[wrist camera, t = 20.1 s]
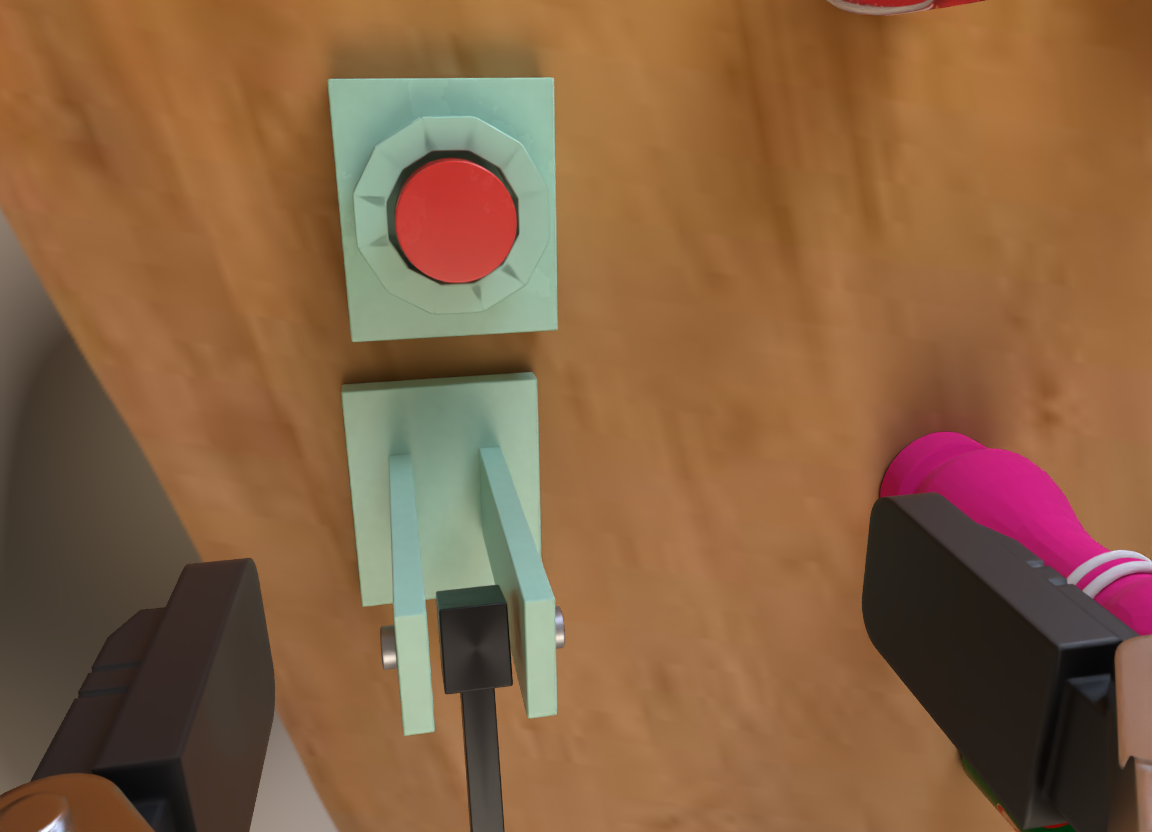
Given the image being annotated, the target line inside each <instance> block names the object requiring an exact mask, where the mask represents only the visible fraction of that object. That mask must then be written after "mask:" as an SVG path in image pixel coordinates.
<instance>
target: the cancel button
mask: <svg viewBox="0 0 1152 832" xmlns="http://www.w3.org/2000/svg"><path fill="white" fill-rule="evenodd" d="M394 220H395V228H396V234H397V238H398V241H399V244H400V246H401V248H402V250H403V252H404V254H405V255H406V257H407V258H408V259H409V261H410V262H411V263H412V264H413V265H414V266H415V267H416V268H417V269H419V270H420V271H421V272H422V273H424V274H426V275H428V276H429V277H432V278H434V279H436V280H439V281H443V282H449V283H466V282H471V281H475V280H477V279H480V278H482V277H484V276H486V275H488V274H490V273H491V272H492V271H494V270H495V269H496V268H497V267H498V266H499V265H500V264H501V263H502V262H503V261H504V260H505V258H506V257H507V255H508V253H509V252H510V250H511V248H512V245H513V243H514V239H515V235H516V229H517V218H516V211H515V206H514V203H513V200H512V198H511V196H510V194H509V192H508V190H507V189H506V187H505V186H504V184H503V183H502V182H501V181H500V180H499V179H498V178H497V177H496V176H495V175H494V174H493V173H491V172H490V171H488V170H487V169H485V168H484V167H482V166H481V165H479V164H477V163H475V162H472V161H469V160H466V159H461V158H442V159H438V160H434V161H431V162H429V163H426V164H425V165H423V166H421V167H420V168H418V169H417V170H415V171H414V172H413V173H412V174H411V175H410V176H409V177H408V179H407V180H406V181H405V182H404V184H403V186H402V187H401V189H400V191H399V194H398V196H397V200H396V204H395V211H394Z"/></svg>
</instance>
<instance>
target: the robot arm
mask: <svg viewBox="0 0 1152 832" xmlns="http://www.w3.org/2000/svg"><path fill="white" fill-rule="evenodd" d="M862 612H863V619H864V623H865V627H866V630H867V633H868V635H869V638H870V640H871V642H872V643H873V645H874V646H875V648H876V649H877V650H878V651H879V653H880V654H881V655H882V656H883V658H884V659H885V660H886V661H887V663H888V664H889V665H890V666H891V668H892V669H893V670H894V671H895V672H896V674H897V675H898V676H899V677H900V679H901V680H902V681H903V682H904V684H905V685H906V686H907V687H908V689H909V690H910V691H911V692H912V693H913V695H914V696H915V697H916V698H917V700H918V701H919V702H920V703H921V705H922V706H923V707H924V708H925V710H926V711H927V712H928V713H929V714H930V716H931V717H932V718H933V719H934V721H935V722H936V723H937V724H938V726H939V727H940V728H941V729H942V730H943V732H944V733H945V734H946V735H947V737H948V738H949V739H950V740H951V742H952V743H953V744H954V745H955V747H956V748H957V749H958V750H959V751H960V753H961V754H962V755H963V756H964V758H965V759H966V760H967V761H968V763H969V764H970V765H971V766H972V768H973V769H974V770H975V771H976V772H977V774H978V775H979V776H980V777H981V779H982V780H983V781H984V782H985V784H986V785H987V786H988V787H989V788H990V790H991V791H992V792H993V793H994V795H995V796H996V797H997V798H998V800H999V801H1000V802H1001V803H1002V805H1003V806H1004V807H1005V808H1006V809H1007V811H1008V812H1009V813H1010V814H1011V816H1012V817H1013V818H1014V819H1015V821H1016V822H1017V823H1018V824H1019V826H1020V827H1021V828H1022V829H1023V830H1025V829H1031V828H1037V827H1043V826H1050V825H1056V824H1062V823H1069V824H1070V825H1071V826H1072V828H1073V829H1074V830H1075V831H1076V832H1152V635H1142V636H1140V635H1139V634H1138V633H1136V632H1135V631H1134V630H1133V629H1131V628H1130V627H1129V626H1127V625H1126V624H1125V623H1123V622H1122V621H1121V620H1120V619H1118V618H1117V617H1116V616H1114V615H1113V614H1112V613H1110V612H1109V611H1108V610H1107V609H1105V608H1104V607H1103V606H1101V605H1100V604H1099V603H1097V602H1096V601H1095V600H1094V599H1092V598H1091V597H1090V596H1088V595H1087V594H1086V593H1084V592H1083V591H1082V590H1081V589H1079V588H1078V587H1077V586H1075V585H1074V584H1068V583H1067V579H1066V578H1065V577H1064V576H1062V575H1061V574H1060V573H1058V572H1057V571H1056V570H1055V569H1053V568H1052V567H1051V566H1045V565H1044V561H1043V560H1042V559H1040V558H1039V557H1038V556H1036V555H1035V554H1034V553H1032V552H1031V551H1030V550H1029V549H1027V548H1026V547H1025V546H1023V545H1022V544H1021V543H1019V542H1018V541H1017V540H1015V539H1012V538H1010V537H1008V536H1006V535H1003V534H1001V533H999V532H997V531H994V530H992V529H990V528H987V527H985V526H983V525H981V524H977V523H976V522H975V521H973V520H972V519H971V518H970V517H968V516H967V515H966V514H965V513H963V512H962V511H961V510H960V509H958V508H957V507H956V506H955V505H953V504H952V503H951V502H949V501H948V500H947V499H946V498H944V497H943V496H942V495H940V494H939V493H936V492H928V493H918V494H908V495H898V496H888V497H881V498H879V499H878V500H877V501H876V502H875V503H874V506H873V508H872V511H871V517H870V525H869V535H868V545H867V555H866V564H865V574H864V584H863V593H862ZM78 693H79V696H78V698H77V699H74V701H73V703H72V705H71V707H70V709H69V710H68V712H67V714H66V716H65V718H64V720H63V722H62V723H61V725H60V727H59V729H58V731H57V733H56V735H55V737H54V738H53V740H52V742H51V744H50V746H49V748H48V749H47V751H46V753H45V755H44V757H43V759H42V761H41V762H40V764H39V766H38V768H37V770H36V772H35V774H34V775H33V777H32V779H31V781H30V782H29V783H26V784H23V785H21V786H19V787H16V788H14V789H12V790H10V791H7V792H5V793H3V794H2V795H0V832H249V829H250V825H251V821H252V816H253V811H254V807H255V802H256V797H257V792H258V788H259V783H260V778H261V774H262V769H263V764H264V759H265V755H266V750H267V745H268V741H269V736H270V732H271V727H272V722H273V716H274V707H275V680H274V669H273V662H272V656H271V650H270V644H269V638H268V632H267V626H266V620H265V614H264V608H263V602H262V596H261V590H260V583H259V578H258V573H257V569H256V566H255V563H254V561H253V560H252V559H251V558H244V559H234V560H224V561H214V562H204V563H194V564H187V565H186V566H185V567H184V569H183V571H182V573H181V575H180V577H179V580H178V582H177V584H176V586H175V588H174V590H173V592H172V595H171V597H170V599H169V601H168V604H167V605H166V607H165V608H156V609H145V610H140V611H139V612H137V614H135V615H134V616H133V617H131V618H130V619H129V620H128V621H127V622H126V623H124V624H123V625H122V626H121V627H120V628H119V629H117V630H116V631H115V632H114V633H113V634H111V635H110V636H109V637H108V638H107V640H106V642H105V643H104V645H103V647H102V649H101V651H100V653H99V655H98V657H97V659H96V660H95V662H94V664H93V666H92V673H88V675H87V677H86V679H85V681H84V682H83V684H82V686H81V688H80V690H79V692H78Z"/></svg>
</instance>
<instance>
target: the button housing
mask: <svg viewBox="0 0 1152 832" xmlns="http://www.w3.org/2000/svg"><path fill="white" fill-rule="evenodd" d="M327 85H328V95H329V106H330V117H331V128H332V138H333V149H334V160H335V171H336V181H337V192H338V203H339V214H340V224H341V235H342V246H343V257H344V268H345V278H346V289H347V300H348V311H349V321H350V332H351V341H352V342H364V341H382V340H399V339H416V338H433V337H450V336H467V335H484V334H501V333H519V332H536V331H553V330H557V329H558V302H557V240H556V178H555V116H554V79H553V78H394V79H328V80H327ZM442 158H461V159H466V160H469V161H472V162H475V163H477V164H479V165H481V166H482V167H484V168H485V169H487V170H488V171H490V172H491V173H493V174H494V175H495V176H496V177H497V178H498V179H499V180H500V181H501V182H502V183H503V184H504V186H505V187H506V189H507V190H508V192H509V194H510V196H511V198H512V200H513V203H514V206H515V211H516V218H517V229H516V235H515V239H514V243H513V245H512V248H511V250H510V252H509V253H508V255H507V257H506V258H505V260H504V261H503V262H502V263H501V264H500V265H499V266H498V267H497V268H496V269H495V270H494V271H492V272H491V273H490V274H488V275H486V276H484V277H482V278H480V279H477V280H475V281H471V282H466V283H449V282H443V281H439V280H436V279H434V278H432V277H429V276H428V275H426V274H424V273H422V272H421V271H420V270H419V269H417V268H416V267H415V266H414V265H413V264H412V263H411V262H410V261H409V259H408V258H407V257H406V255H405V254H404V252H403V250H402V248H401V246H400V244H399V241H398V238H397V234H396V228H395V220H394V211H395V204H396V200H397V196H398V194H399V191H400V189H401V187H402V186H403V184H404V182H405V181H406V180H407V179H408V177H409V176H410V175H411V174H412V173H413V172H414V171H415V170H417V169H418V168H420V167H421V166H423V165H425V164H426V163H429V162H431V161H434V160H438V159H442Z"/></svg>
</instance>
